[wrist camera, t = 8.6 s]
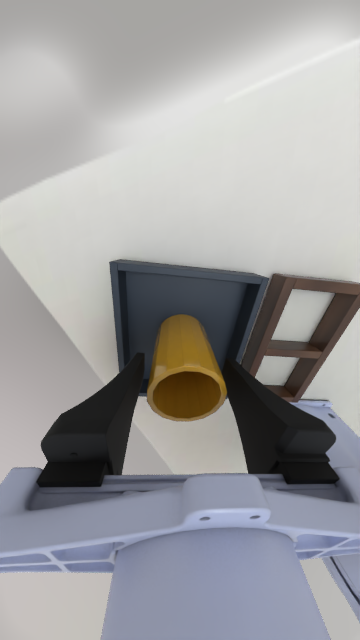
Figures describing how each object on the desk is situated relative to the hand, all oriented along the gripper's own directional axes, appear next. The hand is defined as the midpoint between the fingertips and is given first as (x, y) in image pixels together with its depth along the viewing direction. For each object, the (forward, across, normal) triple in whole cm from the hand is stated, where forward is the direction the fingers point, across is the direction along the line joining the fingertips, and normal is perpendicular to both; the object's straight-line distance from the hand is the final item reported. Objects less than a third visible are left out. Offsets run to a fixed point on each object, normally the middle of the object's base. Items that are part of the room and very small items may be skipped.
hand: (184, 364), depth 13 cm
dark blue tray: (+5, 0, 0) cm, 5 cm away
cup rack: (+5, -13, 0) cm, 14 cm away
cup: (+5, 0, 0) cm, 5 cm away
